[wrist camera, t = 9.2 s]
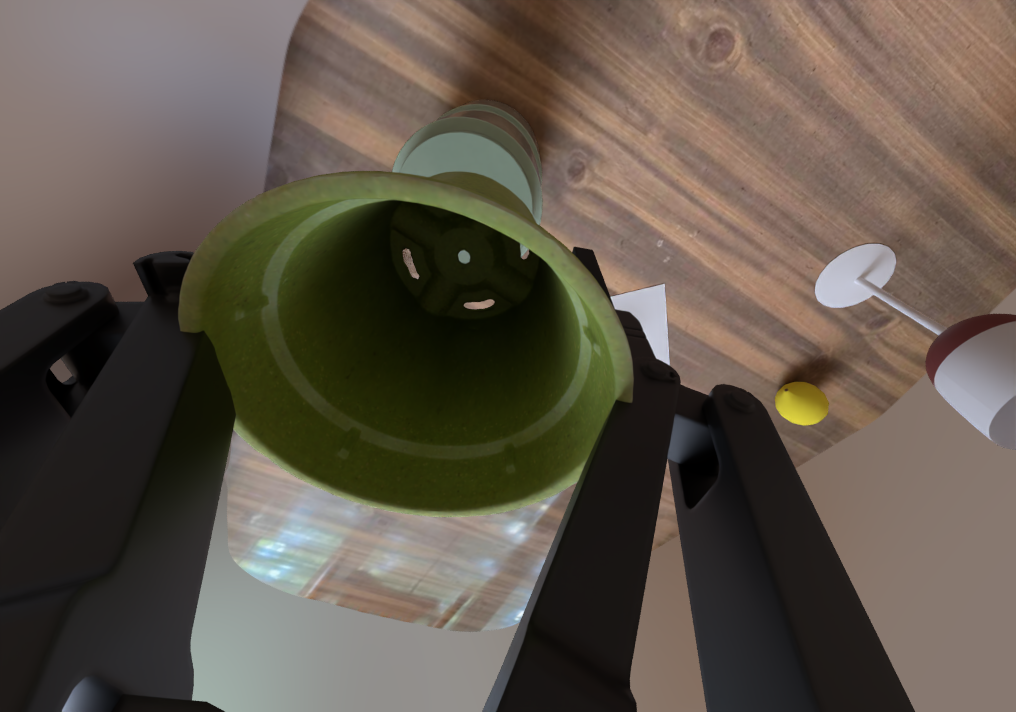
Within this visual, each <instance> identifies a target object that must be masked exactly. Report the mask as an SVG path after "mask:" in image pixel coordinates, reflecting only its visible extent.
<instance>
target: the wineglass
mask: <svg viewBox="0 0 1016 712" xmlns="http://www.w3.org/2000/svg"><path fill="white" fill-rule="evenodd" d="M895 265H896V258H895V254H894V252H893V251H892V250H891V249H890V248H889V247H888V246H884V245H881V244H865V245H861V246H858V247H855V248H852V249H850V250H848V251H846V252H844V253H842V254H840V255H839V256H838V257H837V258H835V259H834V260H833V261H832V262H830V263H829V264H828V265H827V266H826V268H825V269H824V270H823V271H822V272H821V274H820V276H819V278H818V280H817V282H816V286H815V294H816V297H817V300H818V301H819V302H821V303H822V304H823V305H825V306H828V307H832V308H842V307H847V306H851V305H855V304H857V303H860V302H862V301H864V300H866V299H868V298H869V297H871V296H872V295H875V296H877V297H878V298H880V299H882V300H883V301H885V302H886V303H888V304H890V305H891V306H893V307H894V308H896V309H898V310H899V311H901V312H902V313H904V314H906V315H907V316H909V317H910V318H912V319H914V320H915V321H917V322H918V323H920V324H922V325H923V326H925V327H926V328H928V329H929V330H931V331H933V332H934V333H936V334H937V335H939V336H938V337H937V338H936V339H935V341H934V342H933V343H932V345H931V346H930V348H929V350H928V353H927V357H926V371H927V374H928V376H929V378H930V380H931V382H932V384H933V385H934V386H935V388H936V389H937V391H938V392H939V393H940V394H941V395H942V396H943V398H944V399H945V400H946V401H947V402H948V403H949V404H950V405H951V406H952V407H953V408H954V409H956V410H957V411H958V412H959V413H960V414H961V415H962V416H963V417H964V418H965V419H967V420H968V421H969V422H970V423H971V424H972V425H973V426H975V427H976V428H977V429H978V430H979V431H981V432H982V433H983V434H984V435H985V436H987V437H988V438H989V439H990V440H991V441H993V442H994V443H995V444H997V445H999V446H1001V447H1003V448H1008V449H1013V450H1016V315H1011V314H987V315H982V316H977V317H972V318H969V319H966V320H963V321H961V322H959V323H957V324H955V325H952V326H951V327H949V328H946V327H945V326H943V325H941V324H940V323H938V322H936V321H935V320H933V319H931V318H930V317H928V316H926V315H924V314H923V313H921V312H919V311H918V310H916V309H914V308H913V307H911V306H909V305H908V304H906V303H904V302H903V301H901V300H899V299H898V298H896V297H894V296H893V295H891V294H889V293H888V292H886V291H884V290H883V289H881V288H882V287H883V286H884V285H885V284H886V283H887V282H888V280H889V279H890V277H891V275H892V274H893V272H894V269H895Z"/></svg>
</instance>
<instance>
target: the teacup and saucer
mask: <svg viewBox="0 0 1016 712" xmlns="http://www.w3.org/2000/svg"><path fill="white" fill-rule="evenodd" d="M611 300H612V303H613V305H614V308H615V309H617V310H622V311H628V312H630V313H631V314H632V315H634V316H635V317H636V318H637V319H638V320H639V322H640V324H641V326H642V328H643V332H644V333H645V335H646V339H648V342H649V344H650V346H651V348H652V350H653V353H654V355H655V357H656V359H659V360H661V361H663V362H664V363H666V364H668V365H669V366H670V361H669V345H668V329H667V313H666V297H665V284H662V285H657V286H653V287H649V288H645V289H641V290H637V291H632V292H628V293H624V294H620V295H616V296H611Z"/></svg>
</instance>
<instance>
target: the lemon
mask: <svg viewBox="0 0 1016 712" xmlns="http://www.w3.org/2000/svg"><path fill="white" fill-rule="evenodd" d="M775 404H776V408H777V410H778V411H779V413H780V414H781V415H782V417H784V418H786V419H787V420H789V421H790V422H792V423H795V424H799V425H804V426H805V425H812V424H815V423H818V422H820V421H821V420H823V419H824V418H825V416H826V415H827V414H828V406H829V402H828V400H827V398H826V396H825V394H824V393H823V392H822V391H821V390H819V389H818V388H817V387H816V386H814V385H811V384H809V383H806V382H792V383H789V384H785V385H784V386H783V387H782V388H781V389H780V390H779V391H778V392H777V394H776V397H775Z"/></svg>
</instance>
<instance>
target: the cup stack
mask: <svg viewBox="0 0 1016 712" xmlns="http://www.w3.org/2000/svg"><path fill="white" fill-rule="evenodd" d="M453 171H462V172H472V173H477V174H480V175H484V176H486V177H489V178H491V179H493V180H495V181H497V182H499V183H500V184H502V185H503V186H505V187H506V188H508V189H509V190H511V191H512V192H513V193H514V194H515V195H516V196H518V197H519V198H520V199H521V200H522V201H523V202H524V204H525V205H526V206H527V207H528V209H529V210H530V212H531V214H532V215H533V217H534V219H535V221H536V223H537V224H538V225H540V222H541V217H542V206H543V199H542V189H541V185H542V168H541V160H540V153H539V148H538V143H537V140H536V137H535V135H534V133H533V131H532V129H531V127H530V125H529V124H528V122H527V121H526V120H525V119H524V117H523V116H522V115H521V114H520V113H518V112H517V111H516V110H515V109H513V108H512V107H510V106H508V105H506V104H504V103H502V102H498V101H495V100H488V99H486V100H476V101H471V102H469V103H466V104H463V105H461V106H459V107H456V108H454V109H452V110H450V111H448V112H447V113H445V114H444V115H442V116H441V117H440V118H438V119H437V120H436V121H434V122H432V123H430V124H428V125H426V126H424V127H423V128H421V129H420V130H419V131H417V132H416V133H415V134H413V135H412V136H411V138H410V139H409V140H408V141H407V142H406V143H405V144H404V146H403V147H402V149H401V150H400V152H399V154H398V156H397V158H396V160H395V163H394V166H393V169H392V172H397V173H405V174H412V175H419V176H424V177H430V176H433V175H436V174H440V173H445V172H453ZM520 250H521V257H522V256H523V255H524V254H525V253H526V251H527V250H528V248H527V247H525V246H524V245H522V244H521V243H520ZM458 257H459V261H460V262H462V263H465V264H466V263H468V262H470V255H469V253H468V252H466V251H465V250H463V251H460V252H459V254H458Z"/></svg>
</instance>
